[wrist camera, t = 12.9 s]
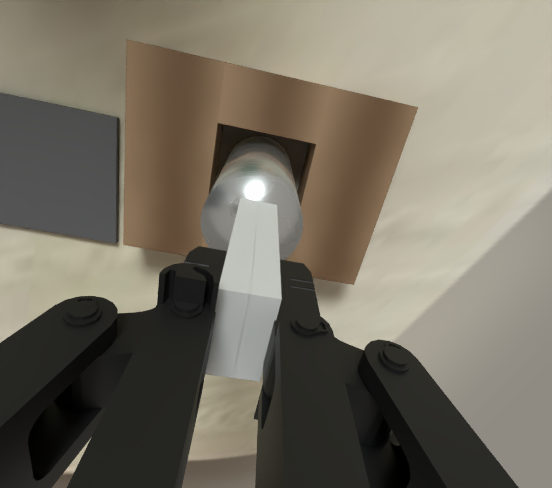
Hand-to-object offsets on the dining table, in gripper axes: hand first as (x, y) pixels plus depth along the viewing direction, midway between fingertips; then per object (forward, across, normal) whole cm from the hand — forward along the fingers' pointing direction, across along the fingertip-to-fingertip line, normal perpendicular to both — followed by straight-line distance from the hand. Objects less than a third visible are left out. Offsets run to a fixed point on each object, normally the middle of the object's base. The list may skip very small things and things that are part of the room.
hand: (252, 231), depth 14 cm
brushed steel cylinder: (+11, 0, 0) cm, 11 cm away
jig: (+11, 0, 0) cm, 11 cm away
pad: (+11, -14, -3) cm, 18 cm away
